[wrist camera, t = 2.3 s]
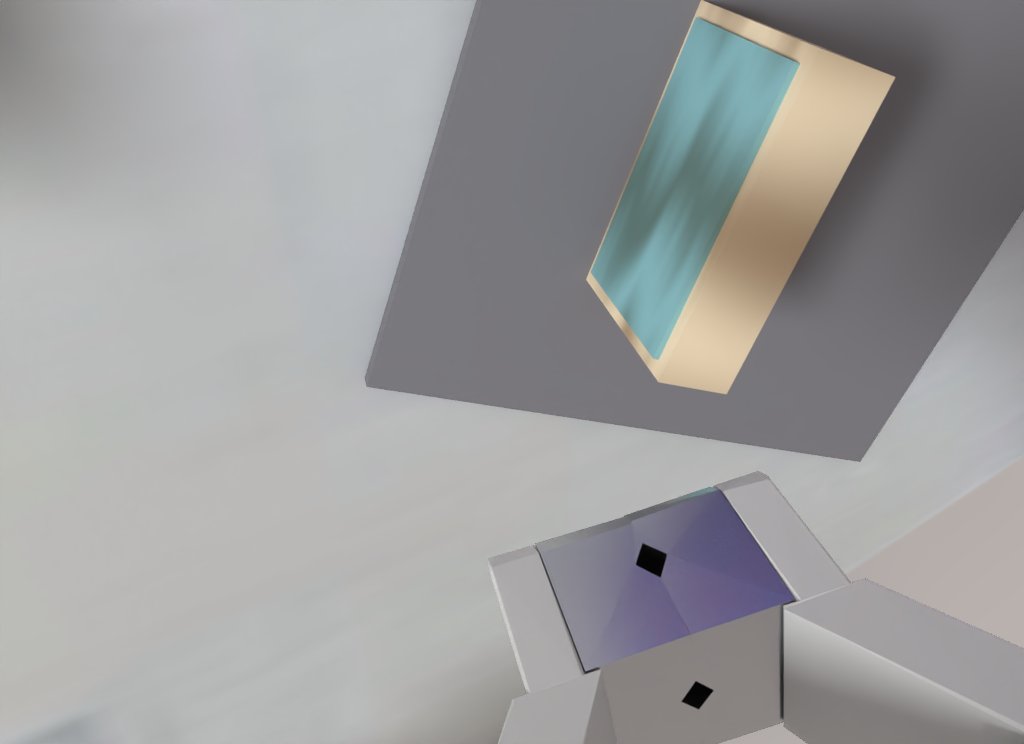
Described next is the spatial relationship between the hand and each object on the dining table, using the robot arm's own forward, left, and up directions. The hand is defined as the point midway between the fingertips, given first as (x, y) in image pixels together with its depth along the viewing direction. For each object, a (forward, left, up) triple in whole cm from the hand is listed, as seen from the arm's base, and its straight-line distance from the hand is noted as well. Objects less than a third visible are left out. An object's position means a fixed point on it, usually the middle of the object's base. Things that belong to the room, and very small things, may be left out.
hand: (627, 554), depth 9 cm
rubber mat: (0, -14, -21) cm, 25 cm away
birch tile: (0, -10, -20) cm, 23 cm away
